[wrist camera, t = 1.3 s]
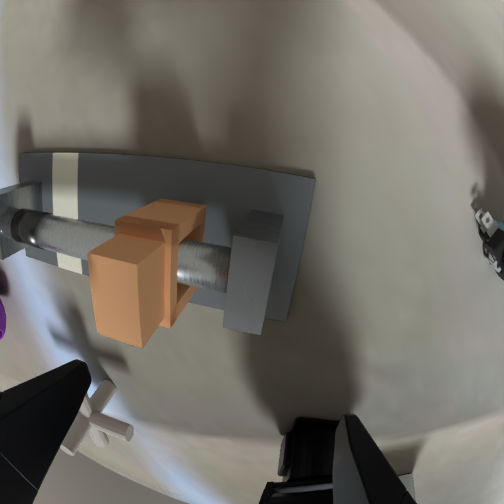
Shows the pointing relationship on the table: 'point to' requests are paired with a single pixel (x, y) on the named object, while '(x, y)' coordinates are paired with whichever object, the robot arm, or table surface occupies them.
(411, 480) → the skincare box
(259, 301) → the linear slide rail
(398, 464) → the table surface
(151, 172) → the grey base plate
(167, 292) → the collar
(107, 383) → the pipe connector
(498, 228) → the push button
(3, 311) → the purple tube cluster
